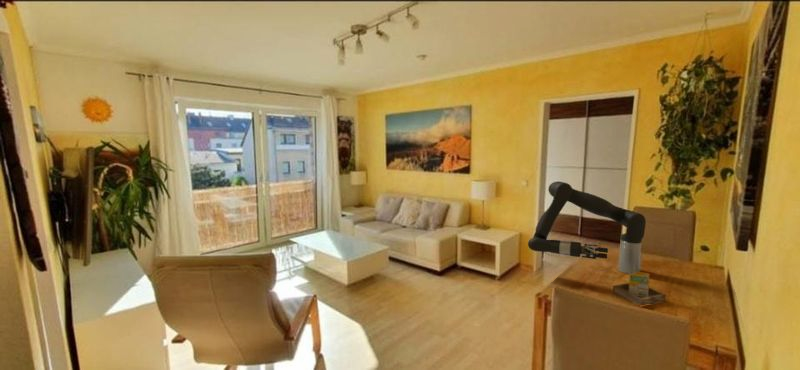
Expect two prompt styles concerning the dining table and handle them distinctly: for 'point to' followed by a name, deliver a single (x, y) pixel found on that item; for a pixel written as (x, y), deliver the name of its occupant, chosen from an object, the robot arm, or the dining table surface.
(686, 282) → the dining table surface
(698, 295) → the dining table surface
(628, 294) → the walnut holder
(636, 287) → the crayon box
